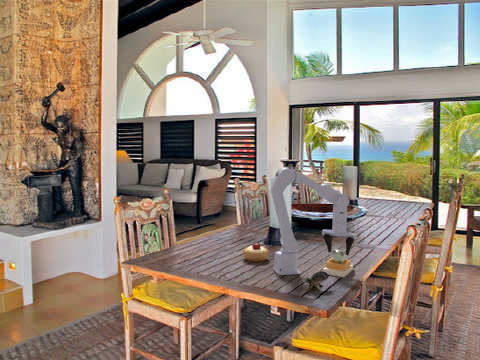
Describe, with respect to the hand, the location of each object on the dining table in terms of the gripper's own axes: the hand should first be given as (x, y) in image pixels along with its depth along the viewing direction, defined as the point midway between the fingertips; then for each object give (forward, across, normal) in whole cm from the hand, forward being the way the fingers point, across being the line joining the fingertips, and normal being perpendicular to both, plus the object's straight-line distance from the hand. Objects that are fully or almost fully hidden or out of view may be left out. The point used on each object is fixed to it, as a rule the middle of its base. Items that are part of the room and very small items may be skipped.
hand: (338, 253), depth 170 cm
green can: (+6, 0, 0) cm, 6 cm away
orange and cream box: (+8, 0, 0) cm, 8 cm away
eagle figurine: (+8, 0, +24) cm, 25 cm away
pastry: (+8, +38, +4) cm, 39 cm away
